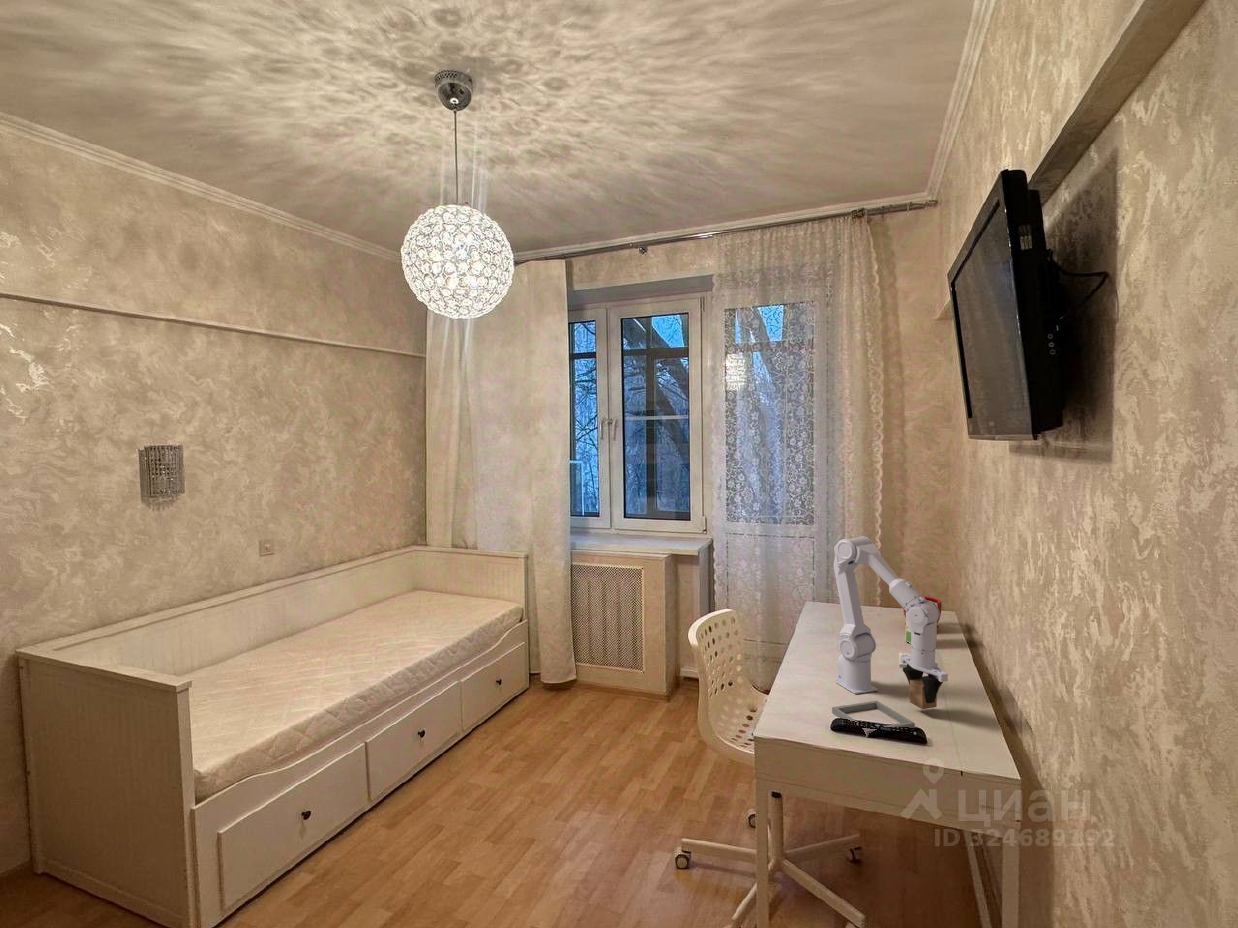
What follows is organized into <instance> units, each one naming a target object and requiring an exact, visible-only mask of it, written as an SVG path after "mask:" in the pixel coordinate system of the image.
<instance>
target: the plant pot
mask: <svg viewBox="0 0 1238 928" xmlns="http://www.w3.org/2000/svg"><path fill="white" fill-rule="evenodd" d="M921 596H922V597H924V598H925V599H926V600H928V601H932V602H934V603H936V604H938V609H939V612H940V617H939V619H938V620H937V631H938V630H940V626H939V625H938V623H939V622H940V620H941V617H942V616H941V614H942V605H943V604H942V601H941V599H939V598H936V597H931V596H925V595H921ZM902 609H903V615H904V618H905V619H906V611H905V609H904V608H903V607H902ZM904 625H905V627H906V621H905V623H904Z"/></svg>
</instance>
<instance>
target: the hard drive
mask: <svg viewBox="0 0 1238 928" xmlns="http://www.w3.org/2000/svg"><path fill="white" fill-rule="evenodd" d="M901 655H908V656H911V652H904V651H903V652H902V651H899V652H898V667H899V668H902V669H903V667H906V666H907V664H906V663H904V664H903V663H901Z"/></svg>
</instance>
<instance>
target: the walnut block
mask: <svg viewBox="0 0 1238 928" xmlns="http://www.w3.org/2000/svg"><path fill="white" fill-rule="evenodd" d="M937 695H938V694H937ZM937 695H936V699H935V702H934V703H927V702H926V699H925V688H924V684H923V681H922V679H915V680H910V685H909V703H910V704H911V705H914V706H916V707H918V708H919V709H921V710H927V709H934V708H937V706H938V705H937V701H938V699H937V698H938V697H937Z"/></svg>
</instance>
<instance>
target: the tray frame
mask: <svg viewBox="0 0 1238 928" xmlns="http://www.w3.org/2000/svg"><path fill="white" fill-rule="evenodd" d="M870 709H871V710H872V709H877V710H879V711H880V712H882V713H884V714H885V715H887V716H888V717H890V718H892V719H893V720H895V721H897V722H898V723H893V724H888V725H883V726H884V727H909V728H915V729H916V727H915V724H916V723H914V722H913V721H912V720H910V719H909V718H907V717H905V716H903V715H902V714H900V713H898V712H897V711H895V710H893V709H892V708H890V707H888V705H885V704H884V703H882V702H880V701H879V700H871V701H864V702H859V703H852V704H851V703H850V704H846V705H845V704H844V705H840V706H832V707H831V713H832V715H835V716H836V717H838V718H839V717H840V718H844V719H848V720H850V721H855V722H858V721H857V720H856V719H854V718H853V717H851V716H850V715H848V714H847V713H852V712H853V713H854V712H858V711H866V710H870ZM840 718H839V719H840ZM870 728H871V727H870ZM870 728H867V727H866V728H862V729H863V730H864V732H865V734H866V736H865V737H866V738H869V737H868V735H869V733H871V732H873V731H875V730H877V729H870Z"/></svg>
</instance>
